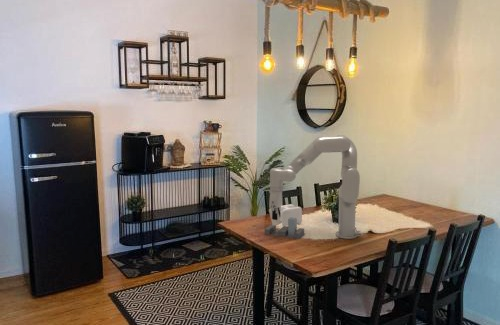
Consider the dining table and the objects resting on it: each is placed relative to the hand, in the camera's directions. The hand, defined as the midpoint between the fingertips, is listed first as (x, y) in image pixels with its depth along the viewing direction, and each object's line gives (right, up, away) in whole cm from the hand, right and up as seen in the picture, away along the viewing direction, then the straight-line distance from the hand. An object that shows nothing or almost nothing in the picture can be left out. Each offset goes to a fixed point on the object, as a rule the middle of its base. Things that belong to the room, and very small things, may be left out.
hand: (276, 218), depth 236 cm
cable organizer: (+9, -7, +21) cm, 24 cm away
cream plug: (0, -4, 0) cm, 4 cm away
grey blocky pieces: (+5, -10, -1) cm, 11 cm away
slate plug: (+9, -9, -3) cm, 14 cm away
